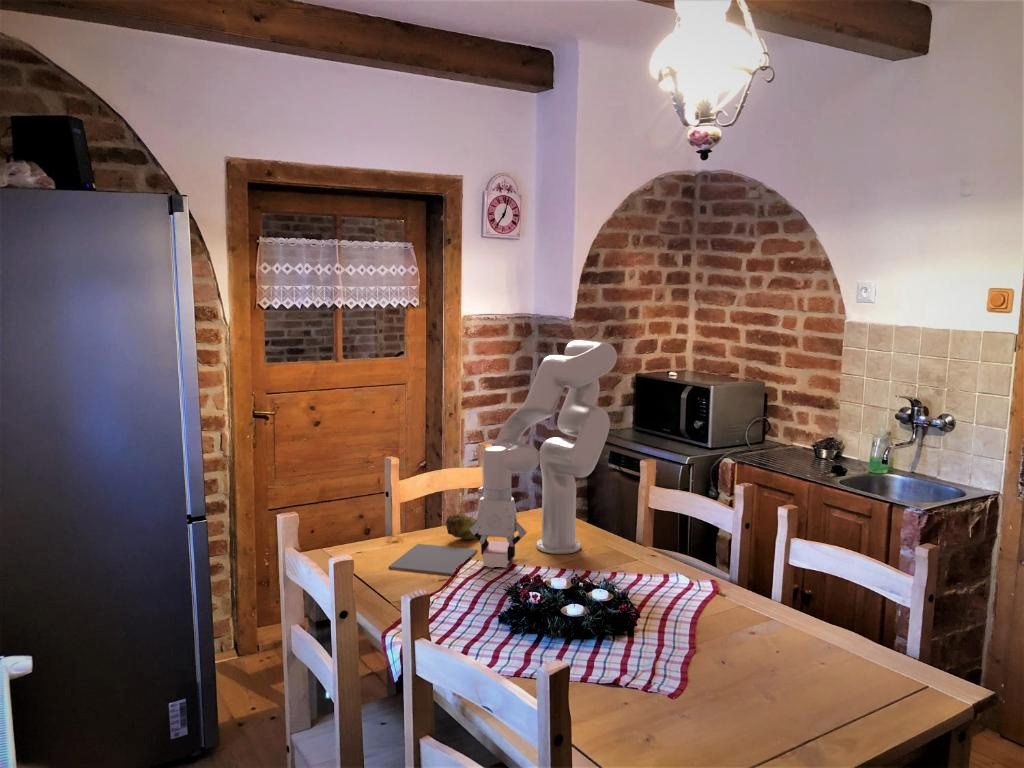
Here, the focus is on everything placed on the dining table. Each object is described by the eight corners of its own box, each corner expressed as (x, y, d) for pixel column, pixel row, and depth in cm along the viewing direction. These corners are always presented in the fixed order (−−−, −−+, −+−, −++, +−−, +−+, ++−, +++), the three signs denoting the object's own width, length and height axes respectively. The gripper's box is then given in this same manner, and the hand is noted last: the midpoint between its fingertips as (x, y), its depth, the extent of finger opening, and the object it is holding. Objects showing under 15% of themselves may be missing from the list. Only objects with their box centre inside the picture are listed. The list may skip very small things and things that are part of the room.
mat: (417, 545, 236) (417, 543, 236) (477, 551, 231) (477, 549, 231) (388, 568, 217) (388, 566, 217) (453, 575, 212) (453, 573, 212)
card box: (491, 554, 227) (490, 540, 226) (512, 555, 225) (512, 541, 225) (483, 566, 217) (483, 552, 217) (505, 568, 216) (505, 553, 216)
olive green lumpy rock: (491, 539, 242) (491, 512, 241) (452, 546, 235) (452, 519, 235) (477, 531, 249) (477, 506, 248) (439, 538, 242) (439, 512, 241)
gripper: (461, 494, 218) (463, 560, 220) (524, 499, 213) (525, 565, 215) (470, 487, 225) (472, 551, 227) (532, 491, 220) (532, 556, 222)
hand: (498, 557), depth 221 cm, fingers closed on card box, 6 cm apart
